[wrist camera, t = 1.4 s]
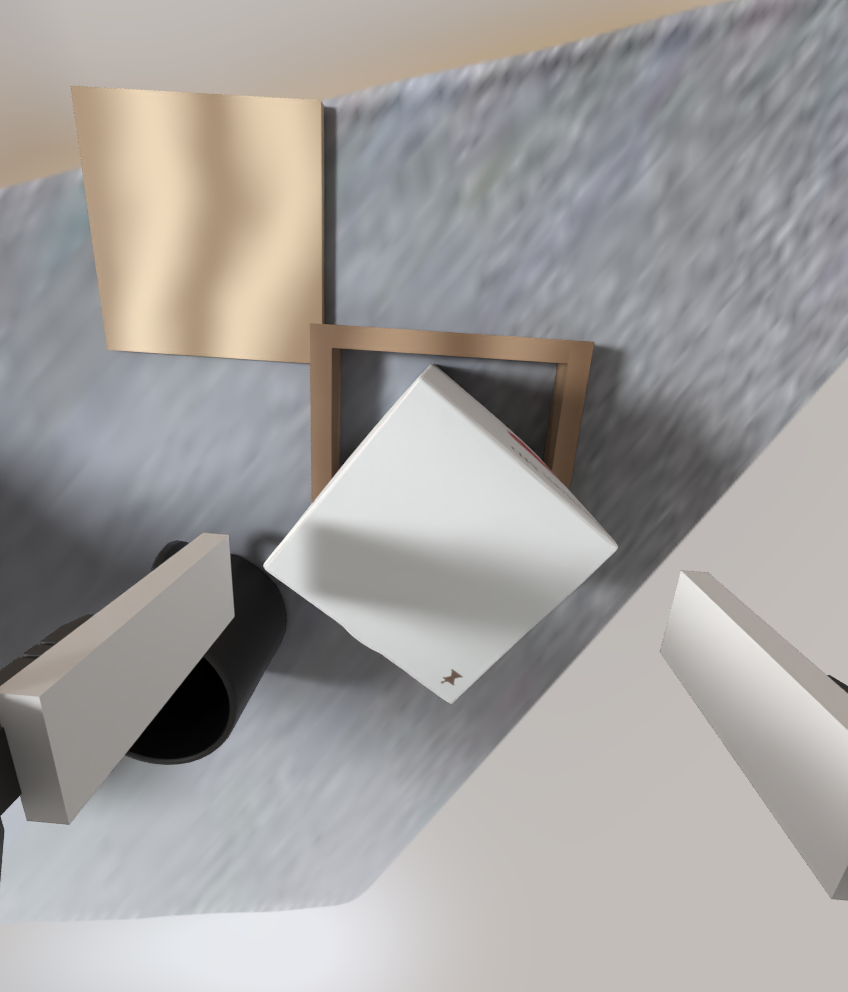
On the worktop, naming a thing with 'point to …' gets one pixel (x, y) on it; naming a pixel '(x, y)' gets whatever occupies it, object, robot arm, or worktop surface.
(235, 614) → the mug
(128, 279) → the light wooden block
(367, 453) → the supplement box
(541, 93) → the worktop surface
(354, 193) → the worktop surface
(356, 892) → the worktop surface
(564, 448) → the walnut frame
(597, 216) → the worktop surface
